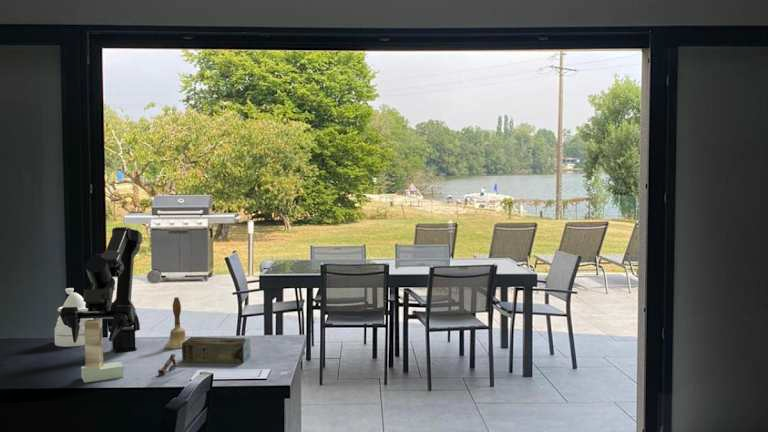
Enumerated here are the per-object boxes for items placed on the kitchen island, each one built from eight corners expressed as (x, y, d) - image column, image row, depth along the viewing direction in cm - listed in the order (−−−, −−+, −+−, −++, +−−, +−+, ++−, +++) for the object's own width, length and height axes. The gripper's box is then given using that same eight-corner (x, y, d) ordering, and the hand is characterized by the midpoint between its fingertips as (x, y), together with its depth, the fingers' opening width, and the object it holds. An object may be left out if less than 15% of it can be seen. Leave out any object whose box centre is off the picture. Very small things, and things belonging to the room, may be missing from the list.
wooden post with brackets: (180, 364, 202) (176, 351, 200) (167, 382, 195) (163, 369, 193) (174, 364, 202) (171, 351, 200) (161, 382, 195) (157, 369, 193)
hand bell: (161, 349, 223) (160, 299, 223) (169, 343, 232) (168, 295, 231) (187, 349, 224) (186, 299, 223) (194, 343, 232) (193, 295, 231)
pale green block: (120, 372, 197) (119, 361, 196) (123, 377, 192) (123, 366, 192) (81, 377, 191) (81, 366, 191) (84, 382, 187) (84, 371, 187)
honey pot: (46, 345, 230) (44, 291, 229) (73, 336, 242) (71, 285, 241) (79, 347, 226) (77, 292, 225) (104, 338, 239) (103, 286, 238)
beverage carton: (244, 364, 205) (243, 342, 205) (180, 363, 207) (180, 341, 207) (251, 357, 213) (251, 336, 213) (190, 356, 215) (189, 335, 214)
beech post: (89, 366, 192) (88, 319, 191) (103, 365, 192) (102, 319, 192) (85, 369, 188) (84, 322, 188) (99, 369, 189) (98, 321, 188)
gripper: (60, 278, 192) (47, 326, 182) (131, 276, 194) (122, 323, 184) (70, 301, 200) (59, 348, 190) (138, 299, 202) (130, 346, 192)
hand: (92, 341), depth 189 cm, fingers open, 9 cm apart
